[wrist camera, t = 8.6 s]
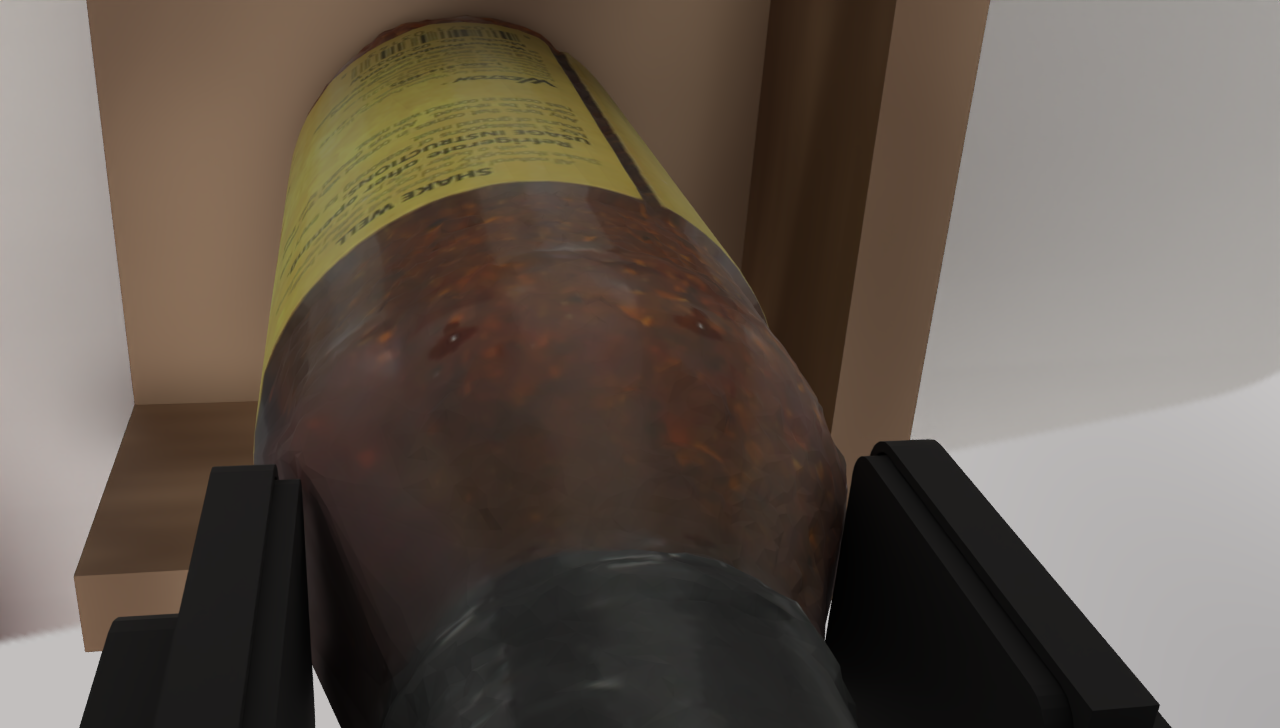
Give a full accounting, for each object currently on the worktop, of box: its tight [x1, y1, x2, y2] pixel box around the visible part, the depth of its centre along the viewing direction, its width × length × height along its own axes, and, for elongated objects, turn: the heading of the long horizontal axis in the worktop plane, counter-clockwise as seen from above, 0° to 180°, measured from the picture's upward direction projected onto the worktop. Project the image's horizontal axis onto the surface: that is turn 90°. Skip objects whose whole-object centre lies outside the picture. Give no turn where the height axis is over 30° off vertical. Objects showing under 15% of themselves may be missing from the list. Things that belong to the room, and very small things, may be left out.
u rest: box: [74, 0, 990, 652], centre depth 22 cm, size 14×14×7 cm
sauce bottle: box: [253, 15, 858, 728], centre depth 15 cm, size 7×6×20 cm
